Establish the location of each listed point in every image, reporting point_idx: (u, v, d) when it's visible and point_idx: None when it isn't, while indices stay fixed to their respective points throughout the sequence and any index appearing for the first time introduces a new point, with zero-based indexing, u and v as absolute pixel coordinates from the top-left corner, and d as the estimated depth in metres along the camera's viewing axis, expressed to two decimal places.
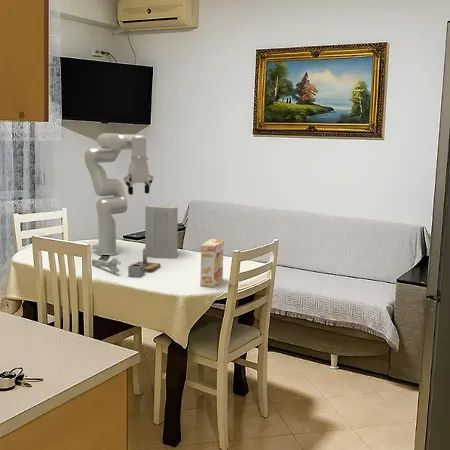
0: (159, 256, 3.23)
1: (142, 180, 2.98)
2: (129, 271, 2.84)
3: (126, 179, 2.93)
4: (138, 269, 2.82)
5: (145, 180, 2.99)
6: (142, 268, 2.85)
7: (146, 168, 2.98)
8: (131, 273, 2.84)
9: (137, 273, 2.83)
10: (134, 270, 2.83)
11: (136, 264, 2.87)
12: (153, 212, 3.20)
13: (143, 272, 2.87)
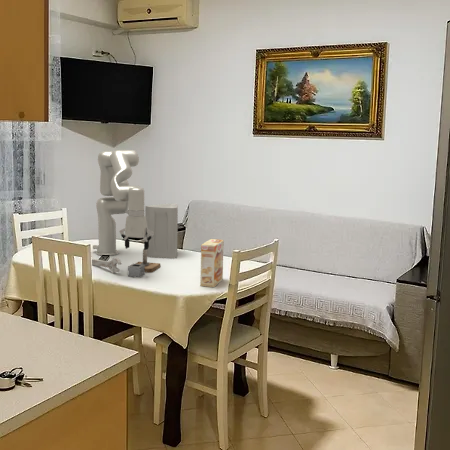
0: (159, 256, 3.23)
1: None
2: (129, 271, 2.84)
3: None
4: (138, 269, 2.82)
5: None
6: (142, 268, 2.85)
7: None
8: (131, 273, 2.84)
9: (137, 273, 2.83)
10: (134, 270, 2.83)
11: (136, 264, 2.87)
12: (153, 212, 3.20)
13: (143, 272, 2.87)
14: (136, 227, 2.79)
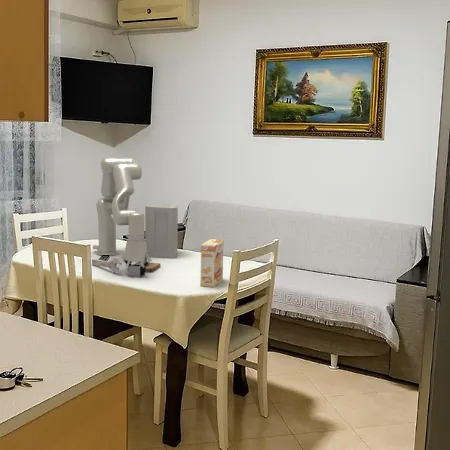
0: (159, 256, 3.23)
1: None
2: (129, 271, 2.84)
3: None
4: (138, 269, 2.82)
5: None
6: None
7: None
8: (131, 273, 2.84)
9: (137, 273, 2.83)
10: (134, 270, 2.83)
11: (136, 264, 2.87)
12: (153, 212, 3.20)
13: None
14: (136, 251, 2.81)
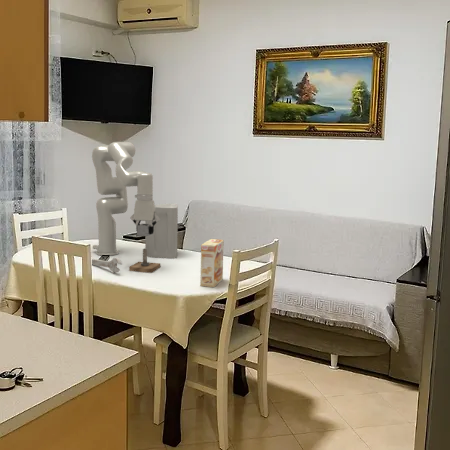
0: (159, 256, 3.23)
1: None
2: (138, 230, 2.93)
3: None
4: (147, 228, 2.92)
5: None
6: None
7: None
8: (140, 232, 2.93)
9: (146, 232, 2.92)
10: (143, 229, 2.92)
11: (144, 224, 2.97)
12: None
13: None
14: (145, 210, 2.91)
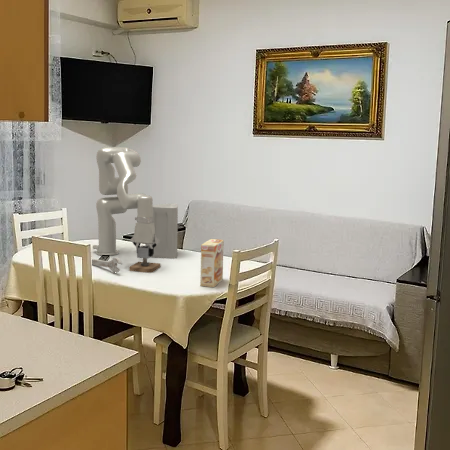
0: (159, 256, 3.23)
1: None
2: (138, 253, 2.95)
3: None
4: (147, 250, 2.94)
5: None
6: None
7: None
8: (140, 254, 2.95)
9: (146, 254, 2.94)
10: (143, 251, 2.94)
11: (144, 246, 2.99)
12: (153, 212, 3.20)
13: None
14: (145, 233, 2.93)
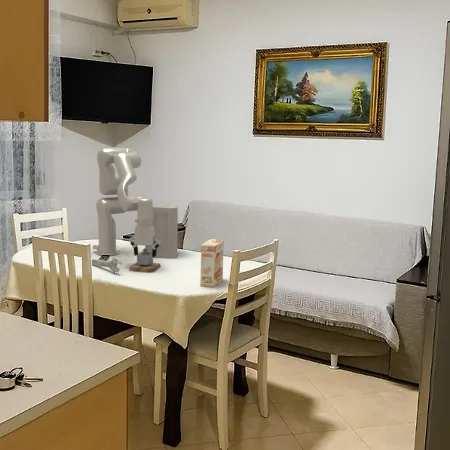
0: (159, 256, 3.23)
1: None
2: (138, 259, 2.96)
3: None
4: (146, 257, 2.94)
5: None
6: (150, 256, 2.97)
7: None
8: (140, 261, 2.96)
9: (145, 261, 2.95)
10: (142, 258, 2.95)
11: None
12: (153, 212, 3.20)
13: (151, 260, 2.99)
14: (145, 235, 2.93)
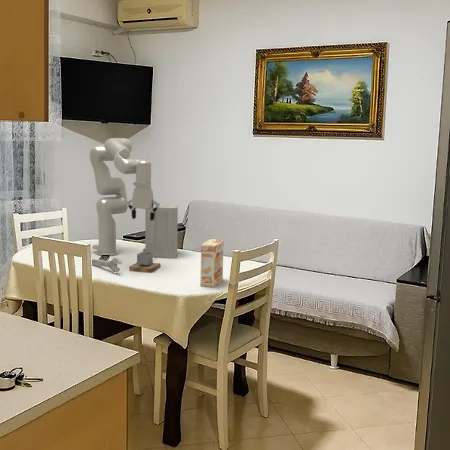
0: (159, 256, 3.23)
1: None
2: (138, 259, 2.96)
3: None
4: (146, 257, 2.94)
5: None
6: (150, 256, 2.97)
7: None
8: (140, 261, 2.96)
9: (145, 261, 2.95)
10: (142, 258, 2.95)
11: None
12: None
13: (151, 260, 2.99)
14: (143, 198, 2.91)
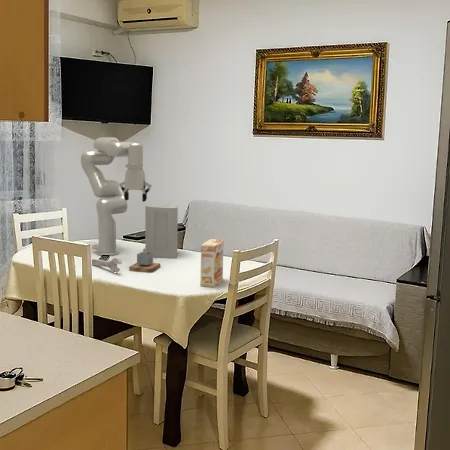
0: (159, 256, 3.23)
1: None
2: (138, 259, 2.96)
3: None
4: (146, 257, 2.94)
5: None
6: (150, 256, 2.97)
7: None
8: (140, 261, 2.96)
9: (145, 261, 2.95)
10: (142, 258, 2.95)
11: None
12: (153, 212, 3.20)
13: (151, 260, 2.99)
14: (135, 180, 2.99)
